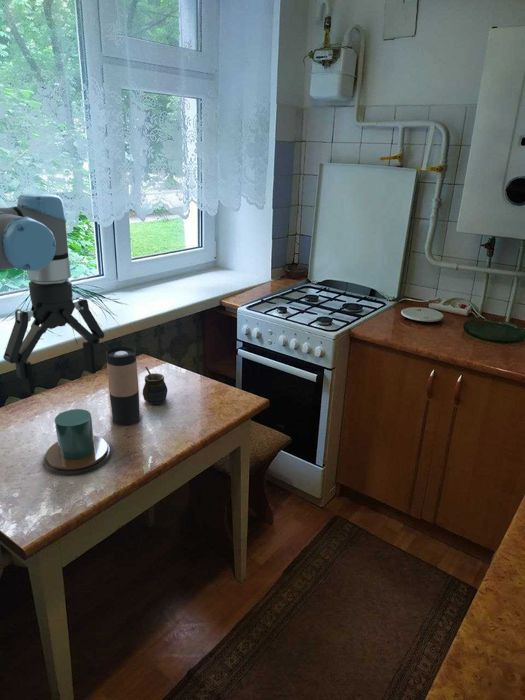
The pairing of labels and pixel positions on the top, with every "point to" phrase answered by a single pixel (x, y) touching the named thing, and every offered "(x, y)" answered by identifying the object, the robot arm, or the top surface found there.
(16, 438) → the top surface
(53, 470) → the base
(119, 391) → the travel mug
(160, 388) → the mate gourd
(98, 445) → the tea cup
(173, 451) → the top surface
